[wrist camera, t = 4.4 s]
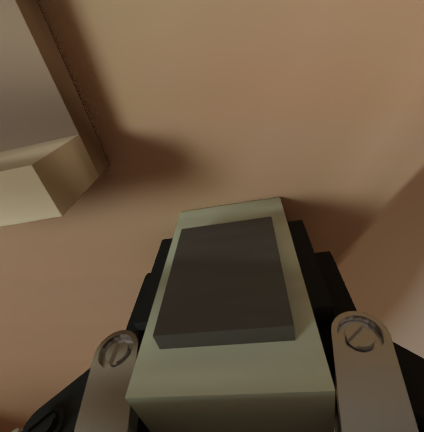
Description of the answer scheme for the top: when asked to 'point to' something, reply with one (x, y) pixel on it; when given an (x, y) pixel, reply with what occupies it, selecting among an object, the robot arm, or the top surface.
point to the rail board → (40, 122)
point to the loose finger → (232, 331)
